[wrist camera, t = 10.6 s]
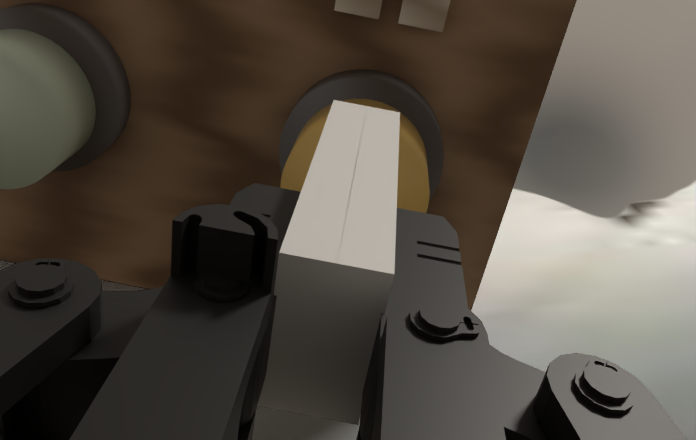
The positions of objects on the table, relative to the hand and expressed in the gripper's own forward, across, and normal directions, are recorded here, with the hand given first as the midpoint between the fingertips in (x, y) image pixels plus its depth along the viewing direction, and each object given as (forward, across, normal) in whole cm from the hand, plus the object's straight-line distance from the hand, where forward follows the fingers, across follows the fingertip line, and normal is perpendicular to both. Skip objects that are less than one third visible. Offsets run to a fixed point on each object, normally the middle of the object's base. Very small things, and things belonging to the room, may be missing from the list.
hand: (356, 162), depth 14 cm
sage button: (+9, -14, -7) cm, 18 cm away
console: (+17, -7, -14) cm, 23 cm away
